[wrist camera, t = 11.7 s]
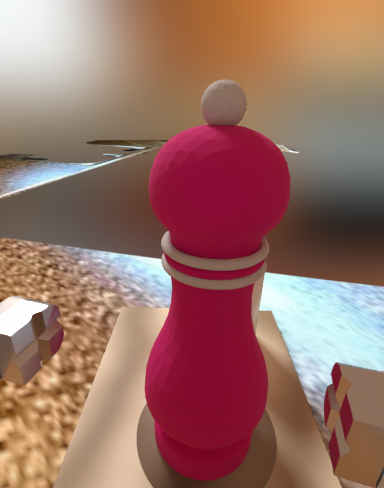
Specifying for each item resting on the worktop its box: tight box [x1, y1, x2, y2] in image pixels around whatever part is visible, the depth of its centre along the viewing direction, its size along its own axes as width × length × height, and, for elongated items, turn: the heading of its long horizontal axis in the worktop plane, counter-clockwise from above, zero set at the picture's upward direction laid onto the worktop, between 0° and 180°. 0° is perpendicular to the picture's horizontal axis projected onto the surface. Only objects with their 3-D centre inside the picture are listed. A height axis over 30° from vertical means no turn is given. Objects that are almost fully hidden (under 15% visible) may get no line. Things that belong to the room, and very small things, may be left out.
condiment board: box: [53, 307, 342, 488], centre depth 23 cm, size 16×18×2 cm
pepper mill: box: [144, 80, 290, 481], centre depth 15 cm, size 7×7×20 cm
